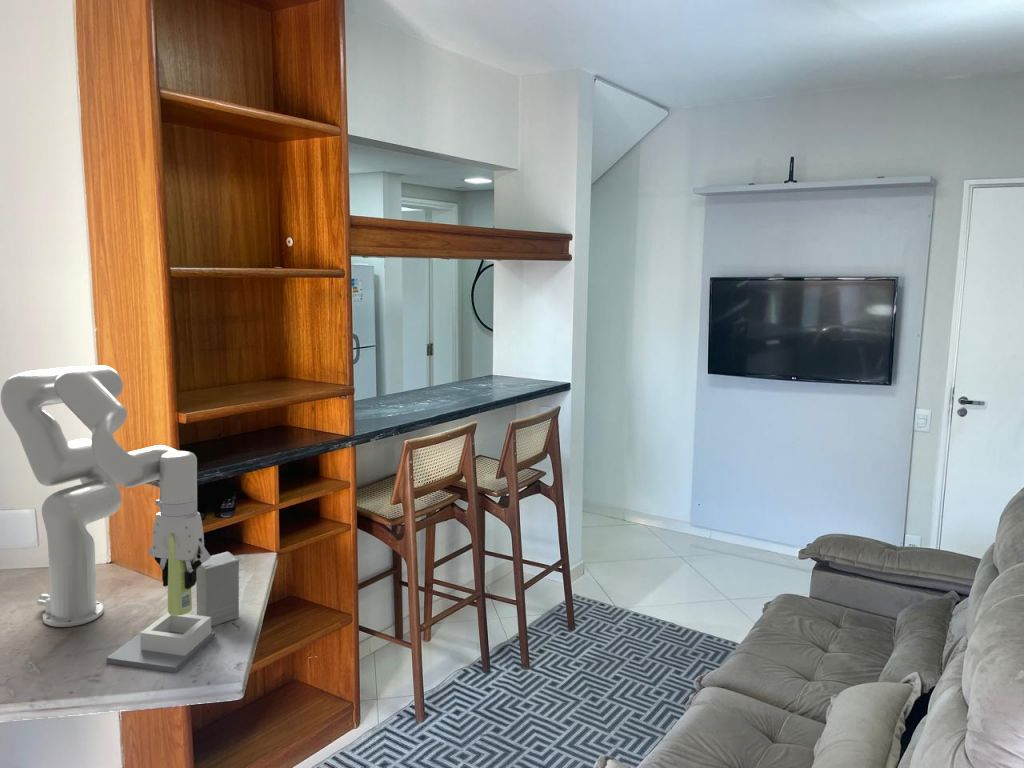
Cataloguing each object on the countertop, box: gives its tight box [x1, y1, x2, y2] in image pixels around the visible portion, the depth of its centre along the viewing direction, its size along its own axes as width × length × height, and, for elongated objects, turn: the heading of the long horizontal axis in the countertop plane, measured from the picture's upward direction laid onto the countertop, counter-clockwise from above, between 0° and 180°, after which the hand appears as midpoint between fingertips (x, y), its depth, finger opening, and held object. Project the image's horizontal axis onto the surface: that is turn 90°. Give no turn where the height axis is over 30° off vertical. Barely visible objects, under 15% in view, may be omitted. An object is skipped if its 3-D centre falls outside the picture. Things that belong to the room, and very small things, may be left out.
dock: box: [105, 611, 217, 674], centre depth 165 cm, size 16×16×5 cm
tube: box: [167, 533, 193, 616], centre depth 166 cm, size 6×5×20 cm
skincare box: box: [195, 551, 240, 627], centre depth 180 cm, size 8×7×16 cm
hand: (179, 584), depth 166 cm, fingers closed on tube, 4 cm apart
